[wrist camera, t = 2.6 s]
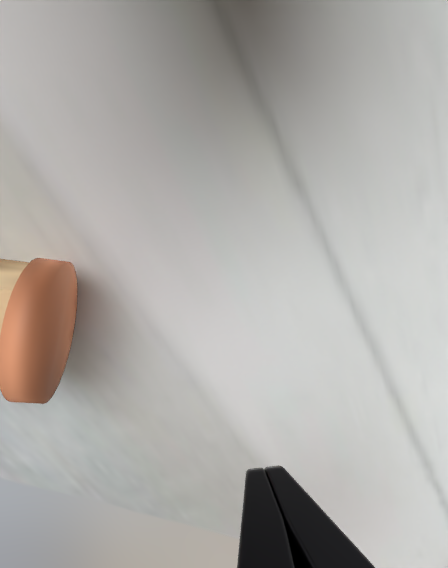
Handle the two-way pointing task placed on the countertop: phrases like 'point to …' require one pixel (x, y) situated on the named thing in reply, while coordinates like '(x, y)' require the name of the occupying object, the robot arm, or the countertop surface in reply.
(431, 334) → the countertop surface
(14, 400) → the lynch pin
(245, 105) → the countertop surface
